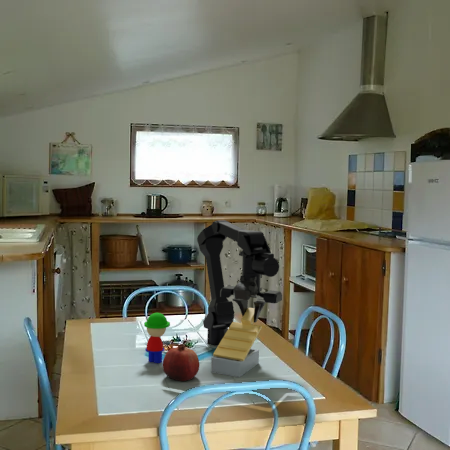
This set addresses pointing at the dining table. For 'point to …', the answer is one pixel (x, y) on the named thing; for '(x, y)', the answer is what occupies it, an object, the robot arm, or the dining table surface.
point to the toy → (155, 336)
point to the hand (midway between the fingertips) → (250, 321)
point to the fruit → (181, 363)
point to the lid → (239, 338)
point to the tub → (235, 364)
